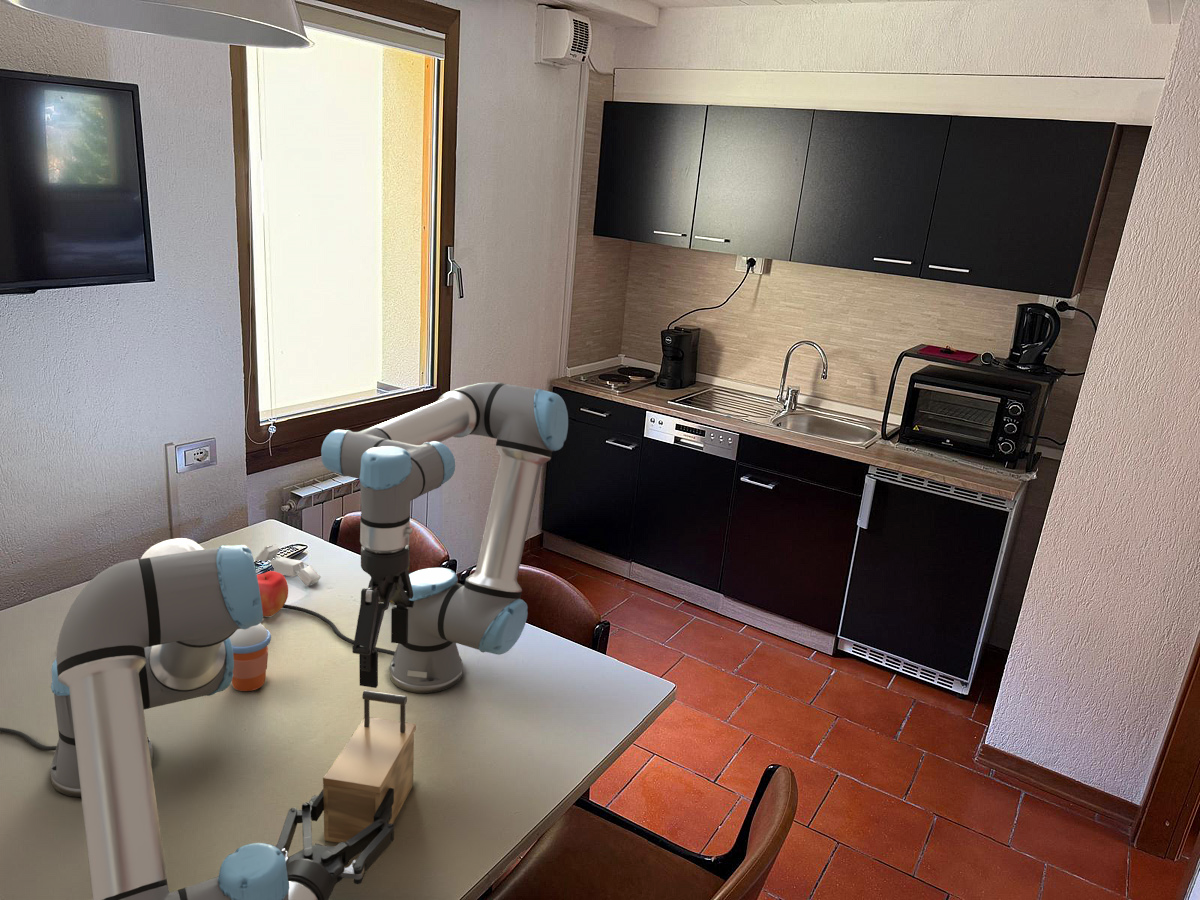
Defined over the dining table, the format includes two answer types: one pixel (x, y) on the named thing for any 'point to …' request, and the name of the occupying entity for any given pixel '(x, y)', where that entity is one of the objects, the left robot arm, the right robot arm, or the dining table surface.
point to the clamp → (288, 565)
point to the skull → (172, 547)
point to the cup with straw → (250, 657)
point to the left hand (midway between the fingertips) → (361, 790)
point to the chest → (365, 801)
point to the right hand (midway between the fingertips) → (384, 663)
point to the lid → (372, 748)
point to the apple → (272, 592)
